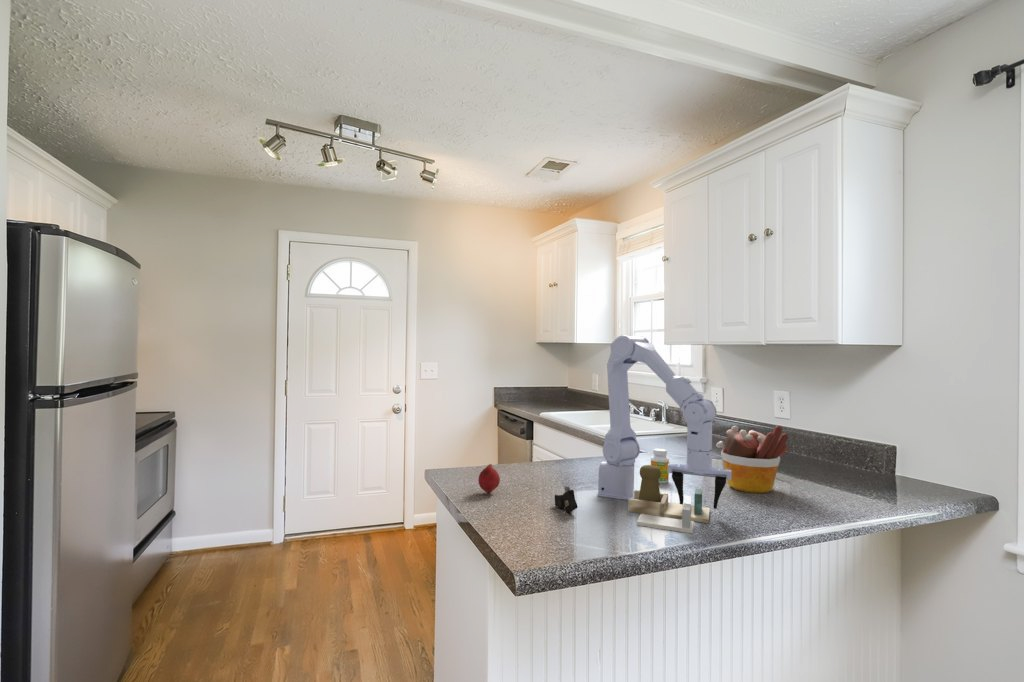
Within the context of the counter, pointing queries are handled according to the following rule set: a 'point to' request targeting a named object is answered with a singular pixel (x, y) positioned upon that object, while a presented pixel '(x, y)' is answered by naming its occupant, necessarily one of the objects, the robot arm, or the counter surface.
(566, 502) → the black angular piece
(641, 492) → the cork
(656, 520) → the cream base with post
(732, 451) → the bucket of meat
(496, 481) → the onion
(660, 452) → the supplement bottle
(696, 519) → the cream slotted holder
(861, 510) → the counter surface
